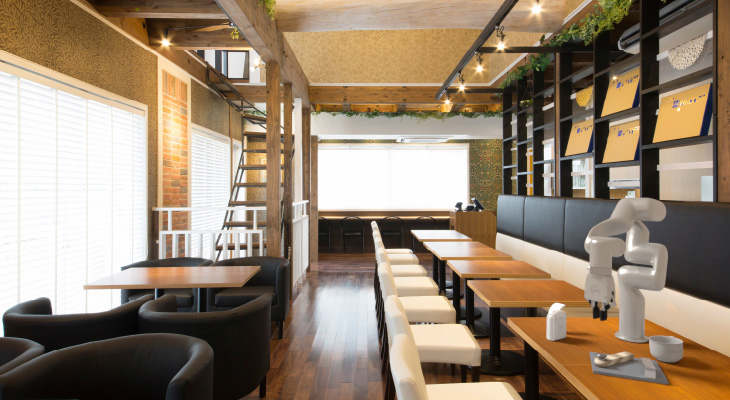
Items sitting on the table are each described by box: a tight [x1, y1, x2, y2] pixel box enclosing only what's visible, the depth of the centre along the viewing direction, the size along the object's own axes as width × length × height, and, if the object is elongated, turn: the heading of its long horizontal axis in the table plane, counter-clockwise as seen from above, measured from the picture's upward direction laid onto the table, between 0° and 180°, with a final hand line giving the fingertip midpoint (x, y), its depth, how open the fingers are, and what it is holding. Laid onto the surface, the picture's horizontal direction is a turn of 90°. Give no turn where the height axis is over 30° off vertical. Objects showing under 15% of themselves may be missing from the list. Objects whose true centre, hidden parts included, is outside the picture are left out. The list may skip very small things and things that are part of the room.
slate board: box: [589, 351, 669, 386], centre depth 158 cm, size 20×22×1 cm
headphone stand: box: [548, 302, 566, 313], centre depth 201 cm, size 5×6×12 cm
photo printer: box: [545, 309, 567, 342], centre depth 190 cm, size 10×4×12 cm, turn 123°
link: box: [595, 350, 635, 368], centre depth 160 cm, size 18×4×4 cm, turn 116°
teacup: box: [648, 335, 684, 363], centre depth 167 cm, size 14×11×8 cm
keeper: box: [639, 357, 656, 379], centre depth 151 cm, size 10×3×5 cm, turn 156°
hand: (599, 319), depth 167 cm, fingers closed
